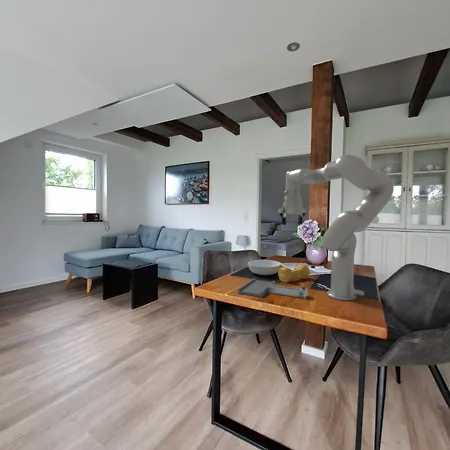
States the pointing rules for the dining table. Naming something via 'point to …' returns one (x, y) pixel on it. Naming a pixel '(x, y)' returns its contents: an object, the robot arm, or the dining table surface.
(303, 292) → the grey grooved bar
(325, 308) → the dining table surface
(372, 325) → the dining table surface
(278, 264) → the serving bowl
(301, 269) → the dumbbell
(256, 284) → the rest tray
